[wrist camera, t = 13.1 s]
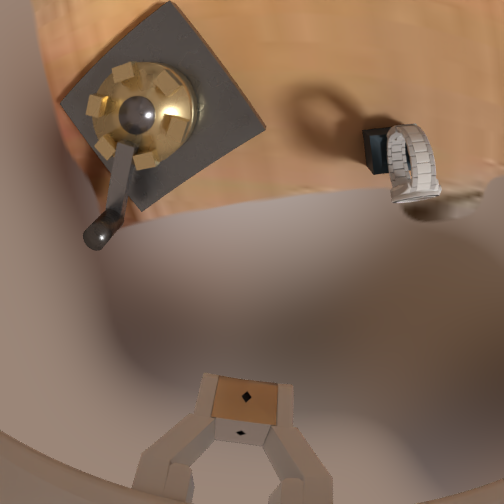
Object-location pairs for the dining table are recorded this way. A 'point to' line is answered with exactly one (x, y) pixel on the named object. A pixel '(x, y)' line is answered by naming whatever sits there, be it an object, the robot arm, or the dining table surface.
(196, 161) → the plate
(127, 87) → the ball knob lever
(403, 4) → the dining table surface
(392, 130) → the watch
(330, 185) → the dining table surface
